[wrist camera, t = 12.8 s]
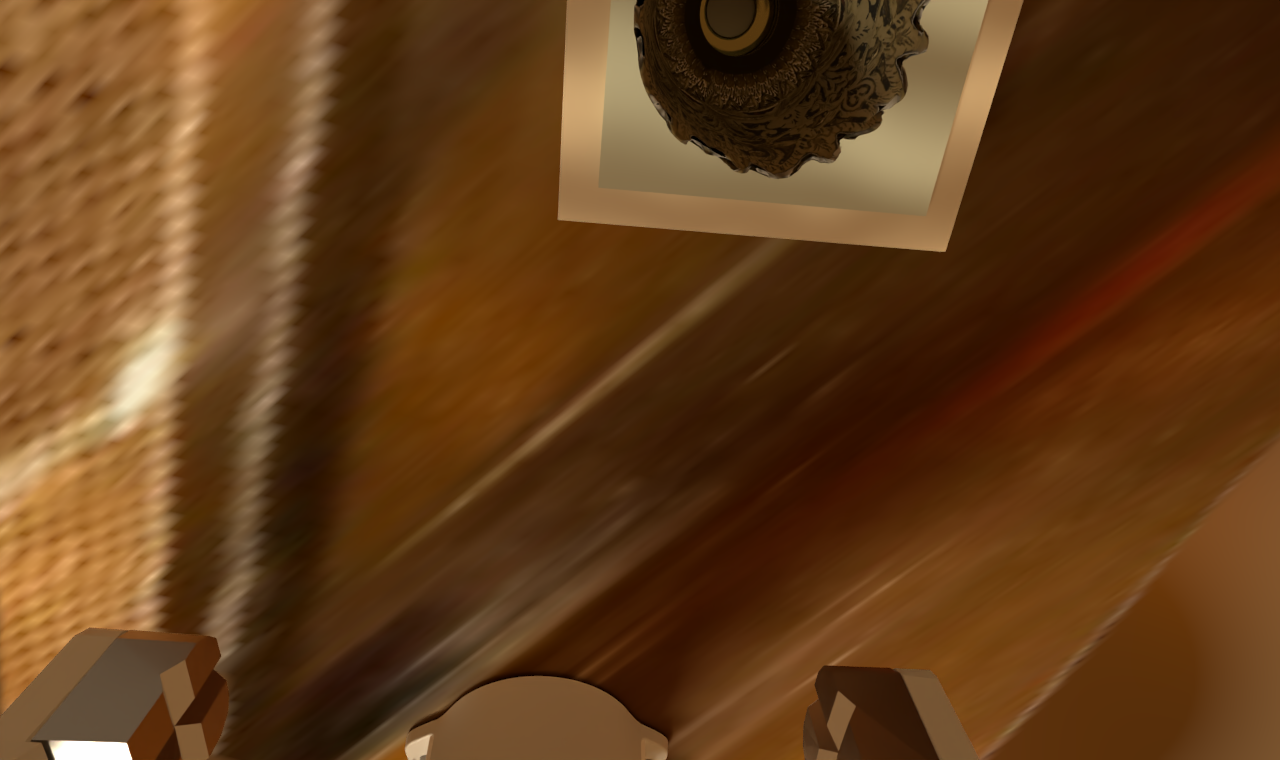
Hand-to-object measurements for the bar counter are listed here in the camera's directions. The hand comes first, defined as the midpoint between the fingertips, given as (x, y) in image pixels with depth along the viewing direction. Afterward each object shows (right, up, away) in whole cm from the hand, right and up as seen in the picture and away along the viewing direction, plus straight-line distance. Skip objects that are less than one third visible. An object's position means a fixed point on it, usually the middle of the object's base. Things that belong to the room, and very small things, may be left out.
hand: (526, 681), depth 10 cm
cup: (+5, +17, +14) cm, 23 cm away
